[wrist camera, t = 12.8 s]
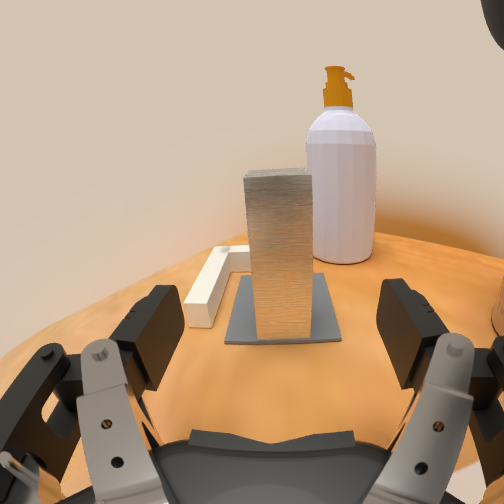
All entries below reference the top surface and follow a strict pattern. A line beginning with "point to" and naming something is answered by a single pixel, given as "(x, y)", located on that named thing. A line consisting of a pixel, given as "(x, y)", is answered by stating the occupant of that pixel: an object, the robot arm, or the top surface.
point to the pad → (246, 333)
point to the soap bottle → (341, 176)
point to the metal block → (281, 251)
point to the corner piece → (214, 283)
